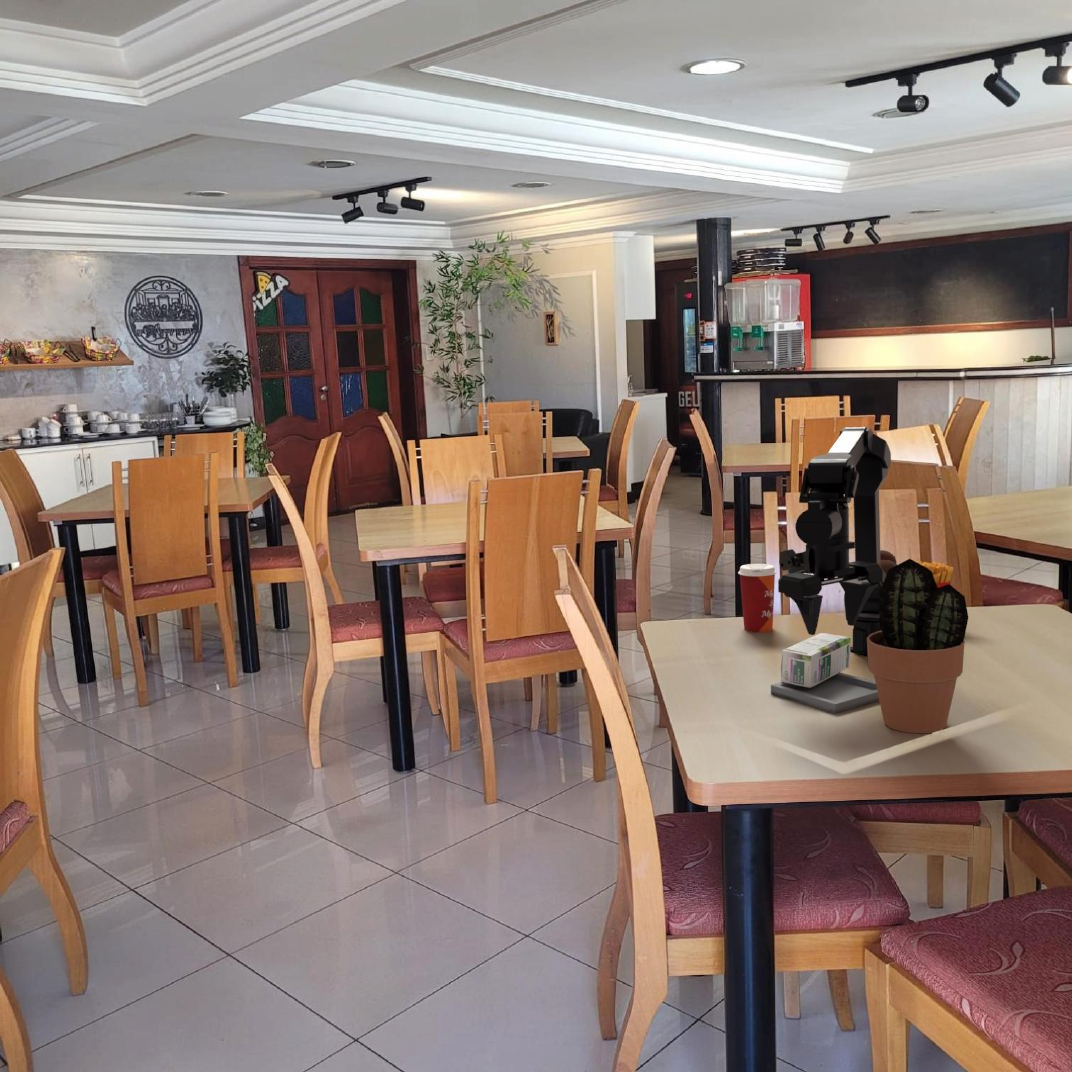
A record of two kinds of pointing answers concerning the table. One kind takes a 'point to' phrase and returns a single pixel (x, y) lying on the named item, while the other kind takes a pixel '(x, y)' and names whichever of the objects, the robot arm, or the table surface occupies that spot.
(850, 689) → the serving tray
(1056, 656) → the table surface
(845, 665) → the syrup box
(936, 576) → the french fries
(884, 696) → the potted plant
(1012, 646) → the table surface
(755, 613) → the paper cup
